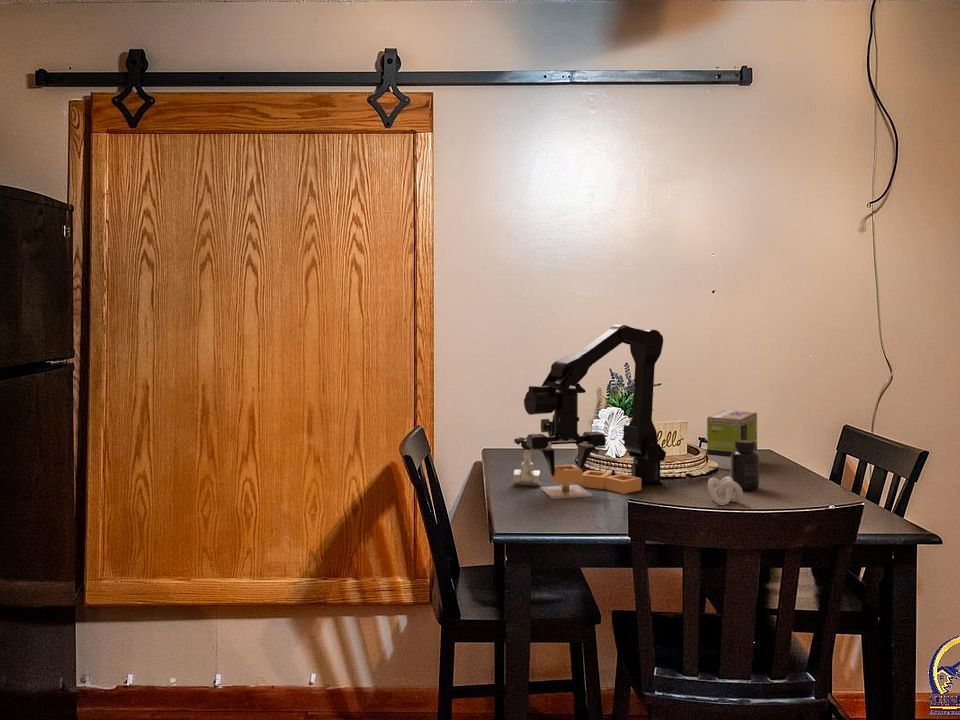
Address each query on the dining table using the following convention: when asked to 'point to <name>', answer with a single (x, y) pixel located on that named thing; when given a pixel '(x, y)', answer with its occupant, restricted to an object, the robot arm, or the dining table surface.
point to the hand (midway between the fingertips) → (565, 474)
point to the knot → (724, 490)
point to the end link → (567, 474)
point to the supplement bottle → (745, 465)
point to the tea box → (729, 434)
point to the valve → (526, 467)
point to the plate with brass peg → (565, 491)
